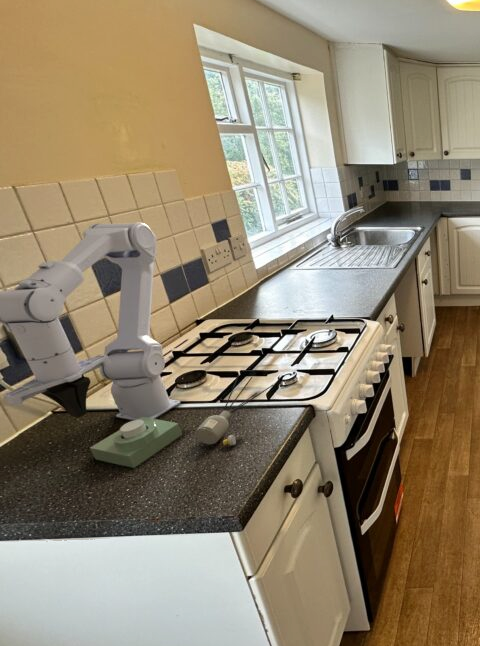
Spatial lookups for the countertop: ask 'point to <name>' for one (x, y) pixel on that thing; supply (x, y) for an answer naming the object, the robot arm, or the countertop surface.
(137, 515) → the countertop surface
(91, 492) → the countertop surface
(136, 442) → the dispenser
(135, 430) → the white round button
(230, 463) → the countertop surface
